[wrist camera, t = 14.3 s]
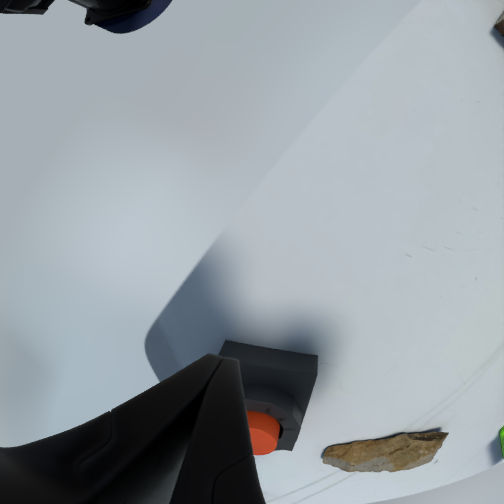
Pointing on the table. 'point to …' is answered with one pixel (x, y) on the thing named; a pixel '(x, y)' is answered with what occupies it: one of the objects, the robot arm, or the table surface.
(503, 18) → the plate
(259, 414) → the bell button
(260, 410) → the black button base
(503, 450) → the dollhouse room
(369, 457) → the stone
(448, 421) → the table surface
